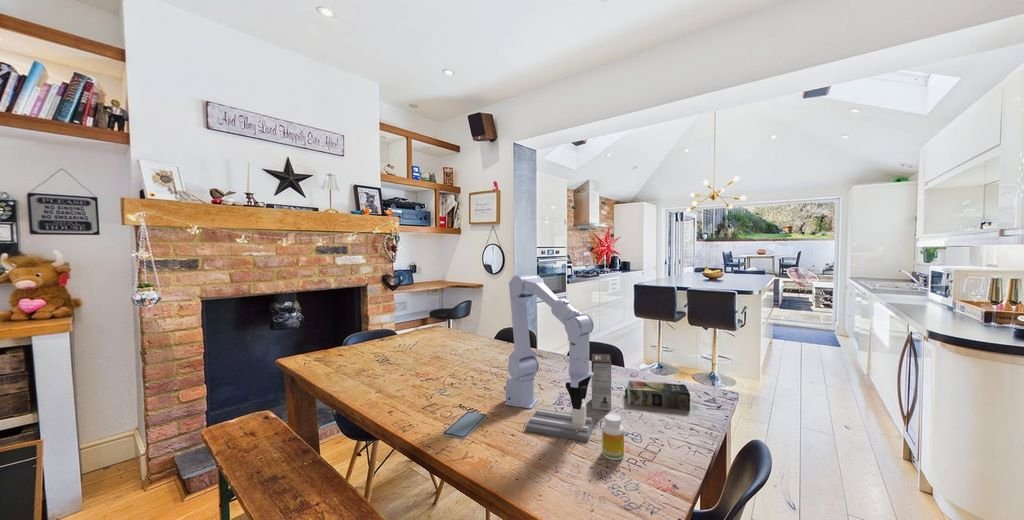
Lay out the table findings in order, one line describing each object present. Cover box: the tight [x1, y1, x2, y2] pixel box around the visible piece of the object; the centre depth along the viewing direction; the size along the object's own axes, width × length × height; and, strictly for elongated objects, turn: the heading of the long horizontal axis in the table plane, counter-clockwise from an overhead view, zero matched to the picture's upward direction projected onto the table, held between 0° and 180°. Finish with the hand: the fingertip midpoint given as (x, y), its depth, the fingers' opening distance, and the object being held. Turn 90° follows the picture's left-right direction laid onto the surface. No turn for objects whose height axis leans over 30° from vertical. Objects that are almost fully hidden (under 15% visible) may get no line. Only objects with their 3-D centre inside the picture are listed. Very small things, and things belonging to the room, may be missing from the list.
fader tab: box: [571, 401, 587, 426], centre depth 107 cm, size 3×4×6 cm
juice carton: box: [624, 380, 691, 411], centre depth 126 cm, size 20×10×6 cm, turn 74°
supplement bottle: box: [601, 413, 625, 461], centre depth 93 cm, size 5×5×10 cm
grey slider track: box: [525, 408, 596, 443], centre depth 109 cm, size 18×12×2 cm, turn 69°
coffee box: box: [591, 353, 612, 411], centre depth 124 cm, size 9×6×16 cm
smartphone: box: [442, 410, 488, 440], centre depth 110 cm, size 7×1×15 cm
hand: (579, 403), depth 106 cm, fingers open, 7 cm apart
